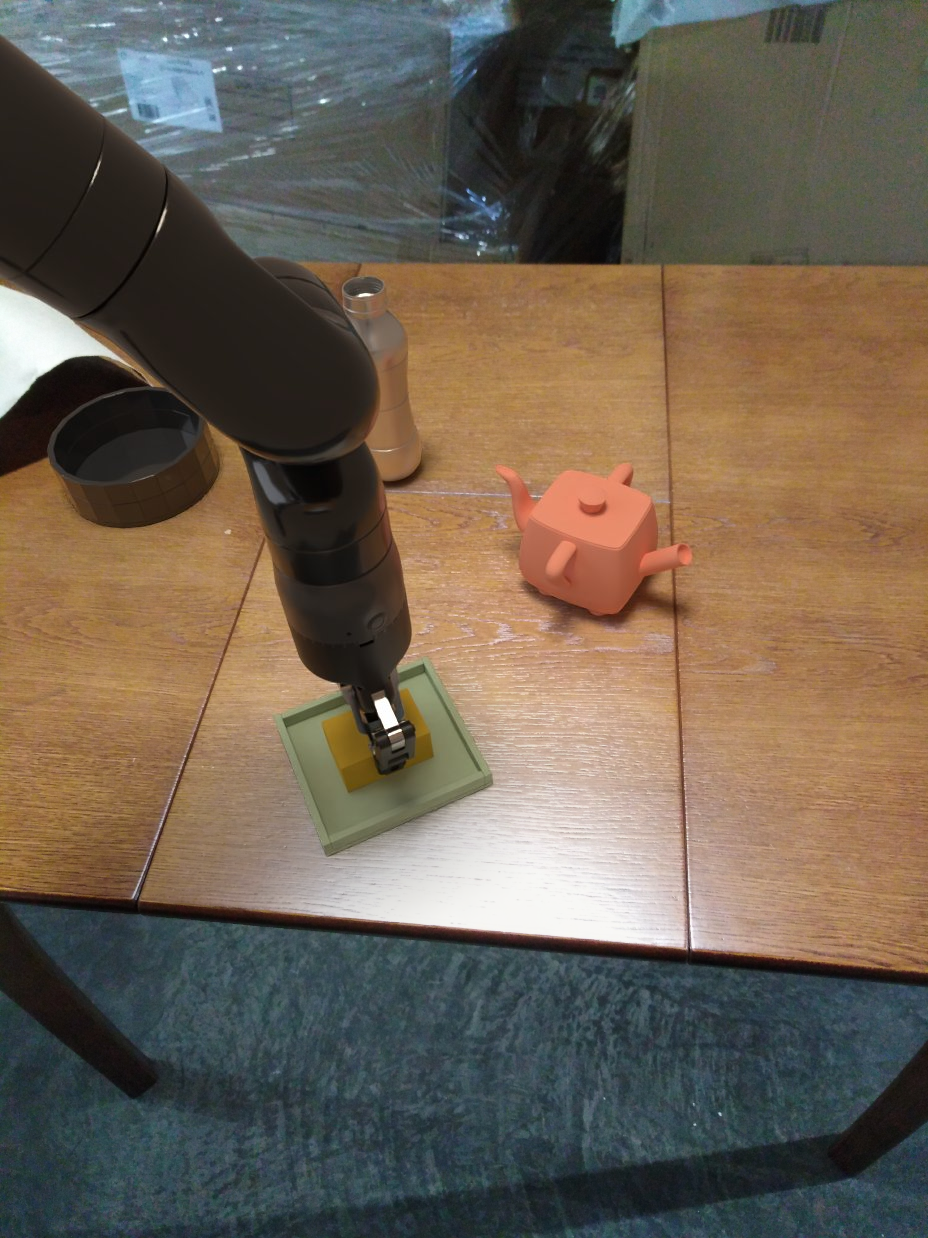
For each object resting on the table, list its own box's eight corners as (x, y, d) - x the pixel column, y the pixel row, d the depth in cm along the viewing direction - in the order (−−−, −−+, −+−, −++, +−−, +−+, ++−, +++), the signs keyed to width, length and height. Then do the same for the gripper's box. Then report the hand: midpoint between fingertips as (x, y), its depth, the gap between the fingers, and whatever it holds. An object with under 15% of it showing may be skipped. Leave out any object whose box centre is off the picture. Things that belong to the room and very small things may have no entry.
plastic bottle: (417, 492, 88) (395, 309, 73) (351, 487, 89) (315, 305, 74) (429, 449, 92) (410, 267, 77) (365, 445, 93) (334, 265, 78)
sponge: (348, 793, 67) (340, 769, 64) (328, 746, 69) (320, 721, 67) (434, 757, 68) (430, 732, 66) (411, 712, 71) (407, 687, 68)
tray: (326, 857, 64) (322, 846, 63) (277, 727, 71) (273, 716, 70) (492, 784, 67) (492, 773, 66) (429, 667, 74) (427, 655, 73)
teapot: (647, 521, 84) (659, 435, 76) (684, 617, 76) (702, 532, 68) (497, 542, 83) (493, 458, 75) (520, 641, 76) (518, 559, 68)
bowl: (82, 547, 86) (59, 505, 82) (59, 455, 95) (38, 413, 91) (235, 496, 89) (221, 453, 85) (199, 413, 98) (184, 370, 94)
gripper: (252, 539, 58) (304, 691, 71) (323, 702, 49) (366, 840, 63) (361, 502, 60) (391, 657, 73) (446, 653, 51) (463, 798, 64)
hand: (379, 741), depth 68 cm, fingers closed on sponge, 4 cm apart
